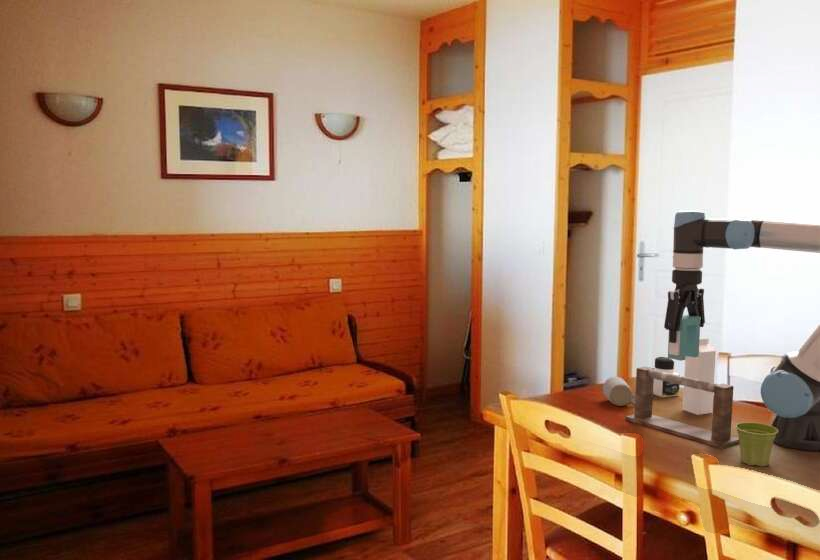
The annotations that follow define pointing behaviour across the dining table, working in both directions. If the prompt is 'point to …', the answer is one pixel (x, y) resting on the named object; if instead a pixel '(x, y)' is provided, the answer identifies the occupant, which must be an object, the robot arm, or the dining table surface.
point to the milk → (703, 371)
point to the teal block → (688, 337)
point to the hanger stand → (644, 416)
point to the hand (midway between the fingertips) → (683, 352)
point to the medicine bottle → (665, 387)
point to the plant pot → (755, 442)
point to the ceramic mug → (618, 391)
